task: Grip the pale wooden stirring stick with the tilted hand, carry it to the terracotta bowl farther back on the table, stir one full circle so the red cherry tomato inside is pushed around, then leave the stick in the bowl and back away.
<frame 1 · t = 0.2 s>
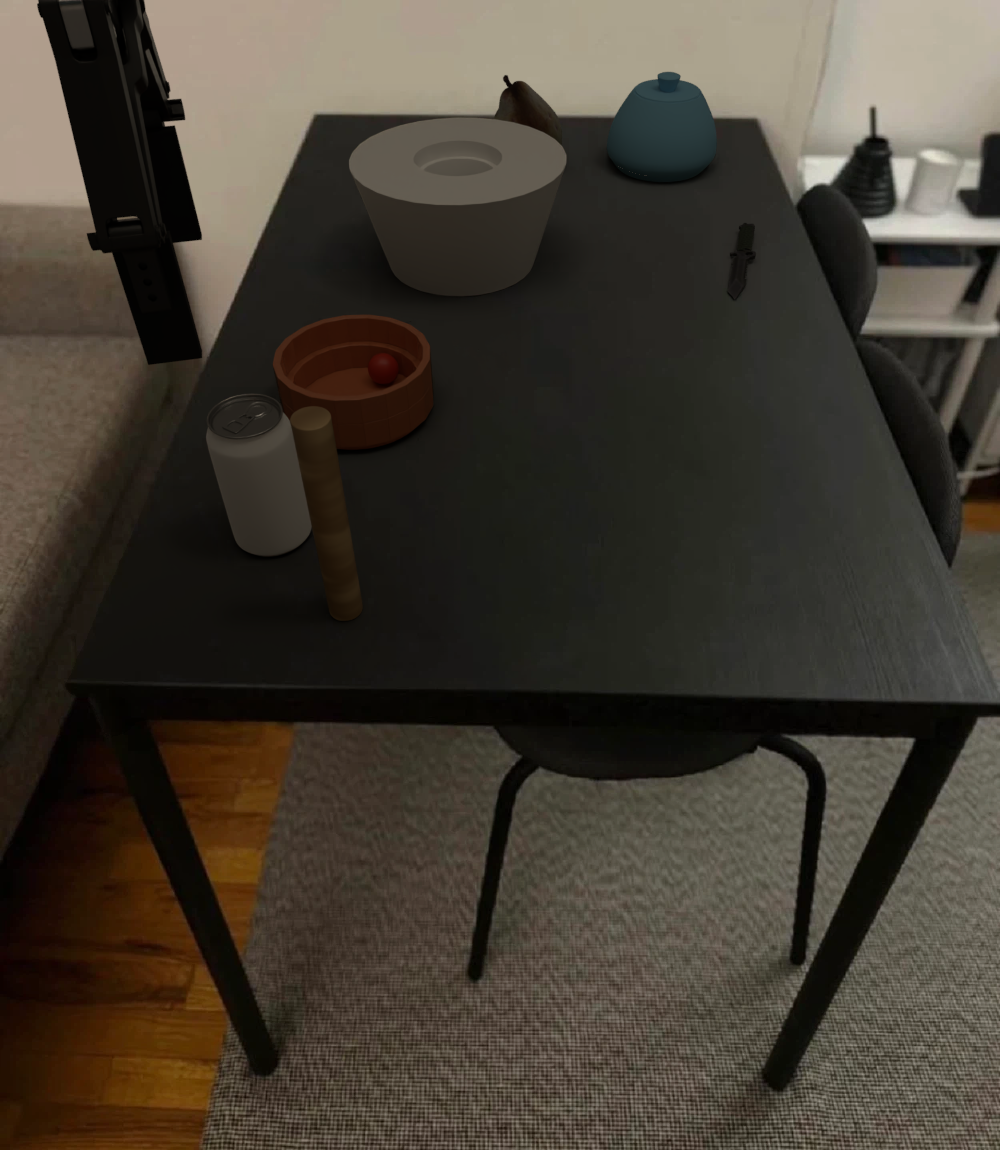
hand: (177, 294, 53), 27 cm above the table, tool pointing down, fingers open, 13 cm apart
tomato: (383, 368, 91), point 2 cm above the table, touching stir bowl
knife: (741, 264, 110), on the table
stir bowl: (359, 408, 91), on the table
bowl: (462, 261, 112), on the table
stick: (346, 608, 72), on the table
can: (274, 534, 79), on the table
sugar bowl: (659, 165, 131), on the table
fruit: (526, 169, 131), on the table
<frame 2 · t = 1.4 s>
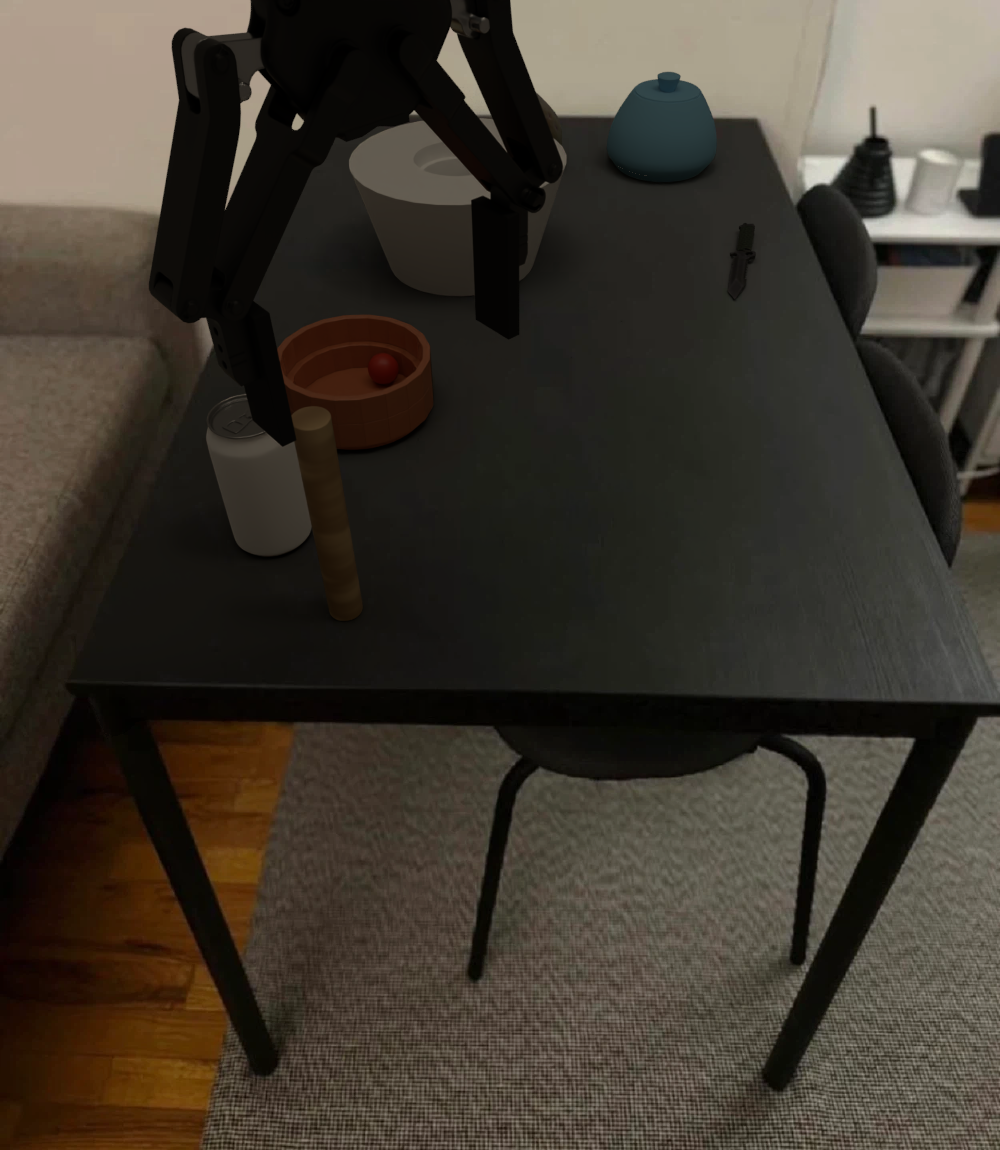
hand: (393, 376, 47), 27 cm above the table, tool pointing down, fingers open, 13 cm apart
nothing on the table moved.
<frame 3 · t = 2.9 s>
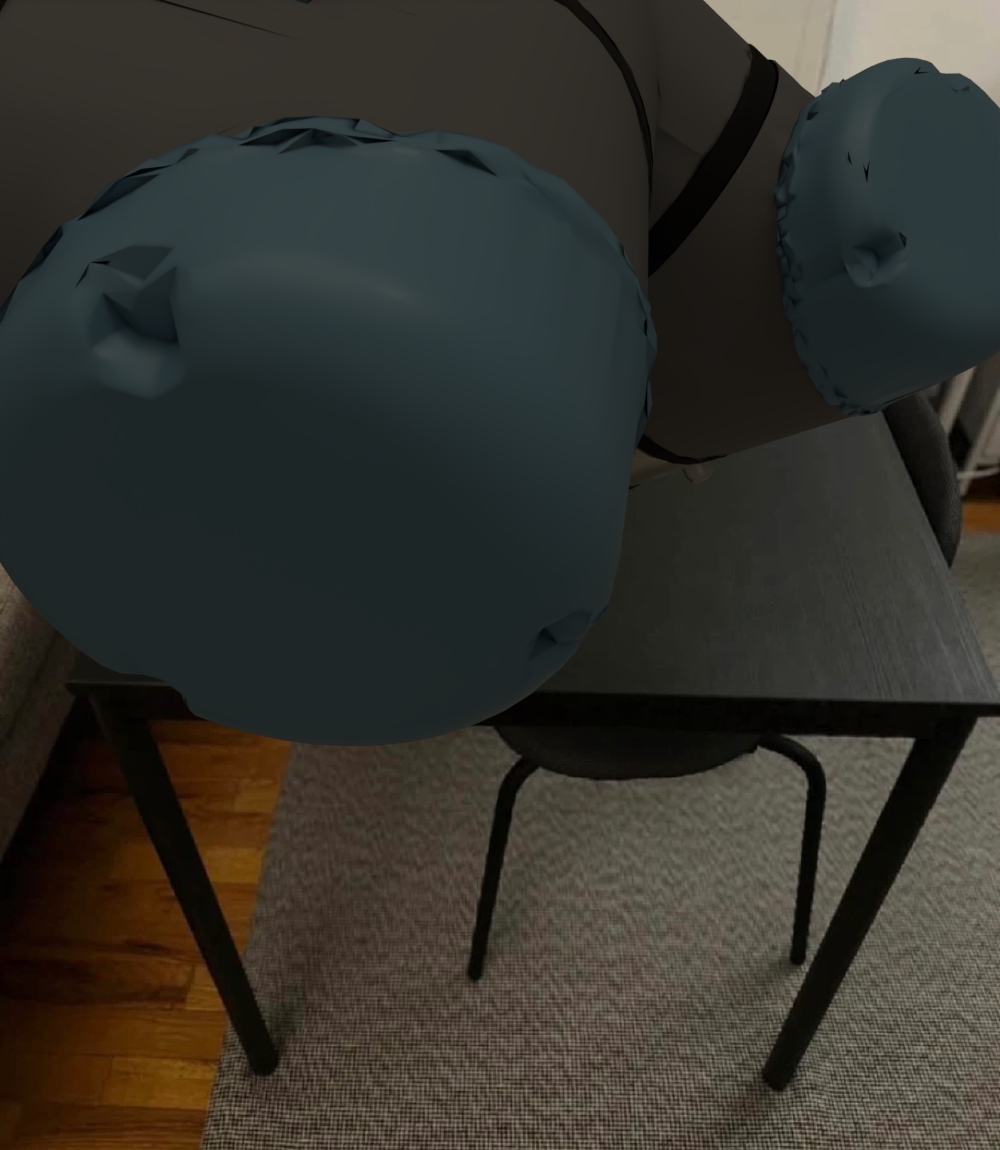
hand: (404, 496, 54), 18 cm above the table, tool tilted 45°, fingers open, 13 cm apart
nothing on the table moved.
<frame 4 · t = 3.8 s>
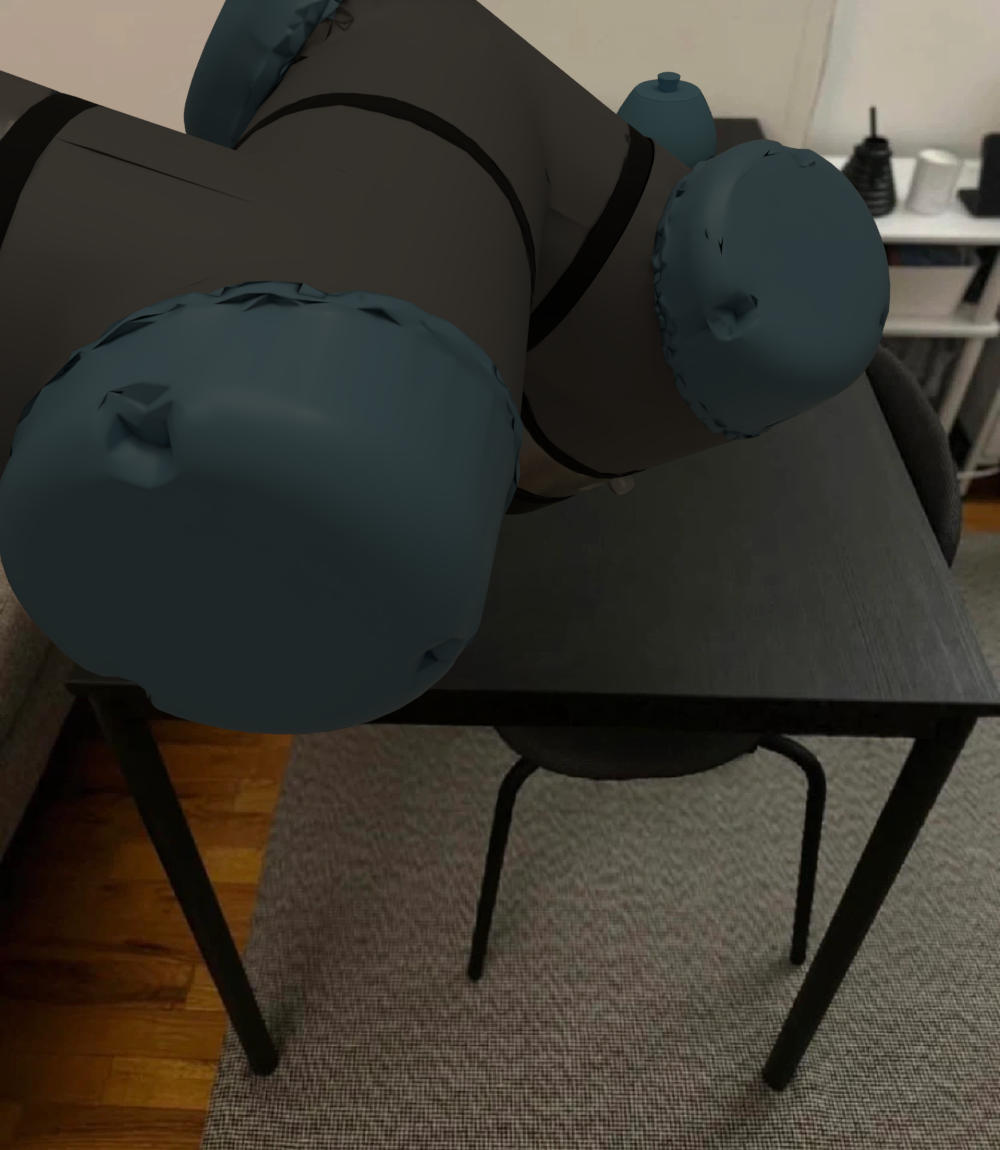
hand: (375, 502, 58), 15 cm above the table, tool tilted 45°, fingers open, 13 cm apart
nothing on the table moved.
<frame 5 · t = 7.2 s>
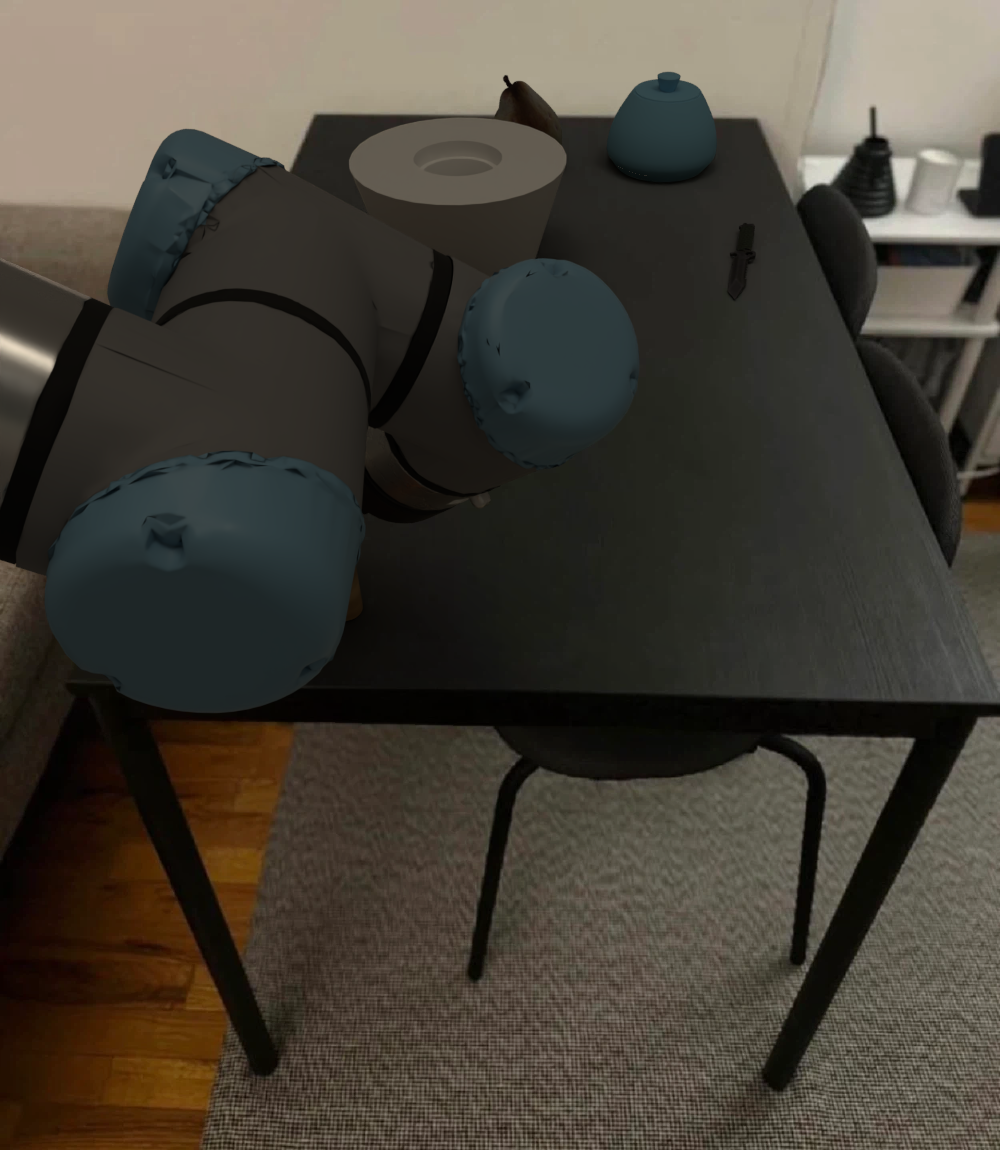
hand: (305, 516, 69), 7 cm above the table, tool tilted 45°, fingers closed on stick, 2 cm apart
stick: (346, 608, 72), on the table, touching gripper
everything else where it was.
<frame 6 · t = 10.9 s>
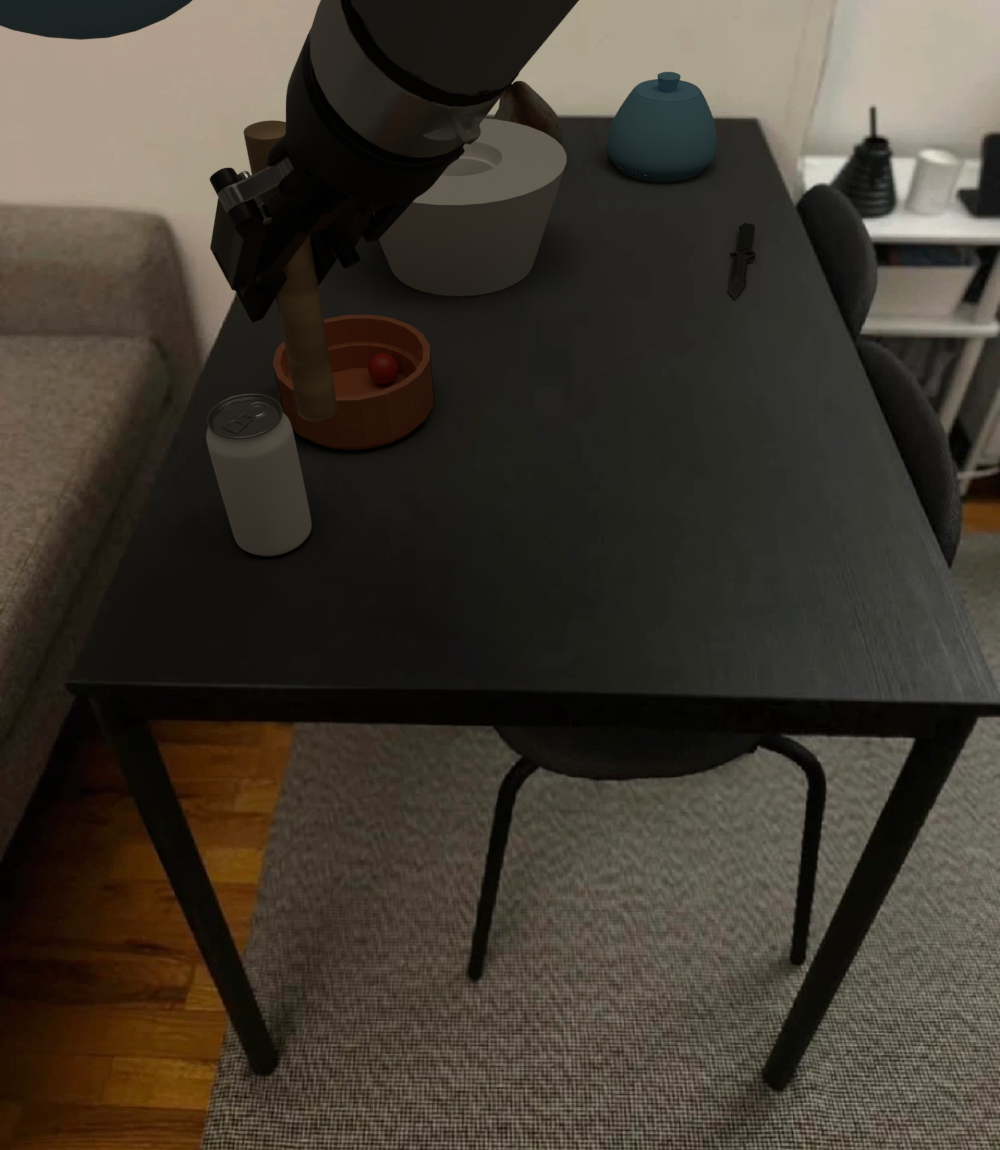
hand: (270, 292, 59), 24 cm above the table, tool tilted 45°, fingers closed on stick, 2 cm apart
stick: (317, 410, 62), point 17 cm above the table, touching gripper
everything else where it was.
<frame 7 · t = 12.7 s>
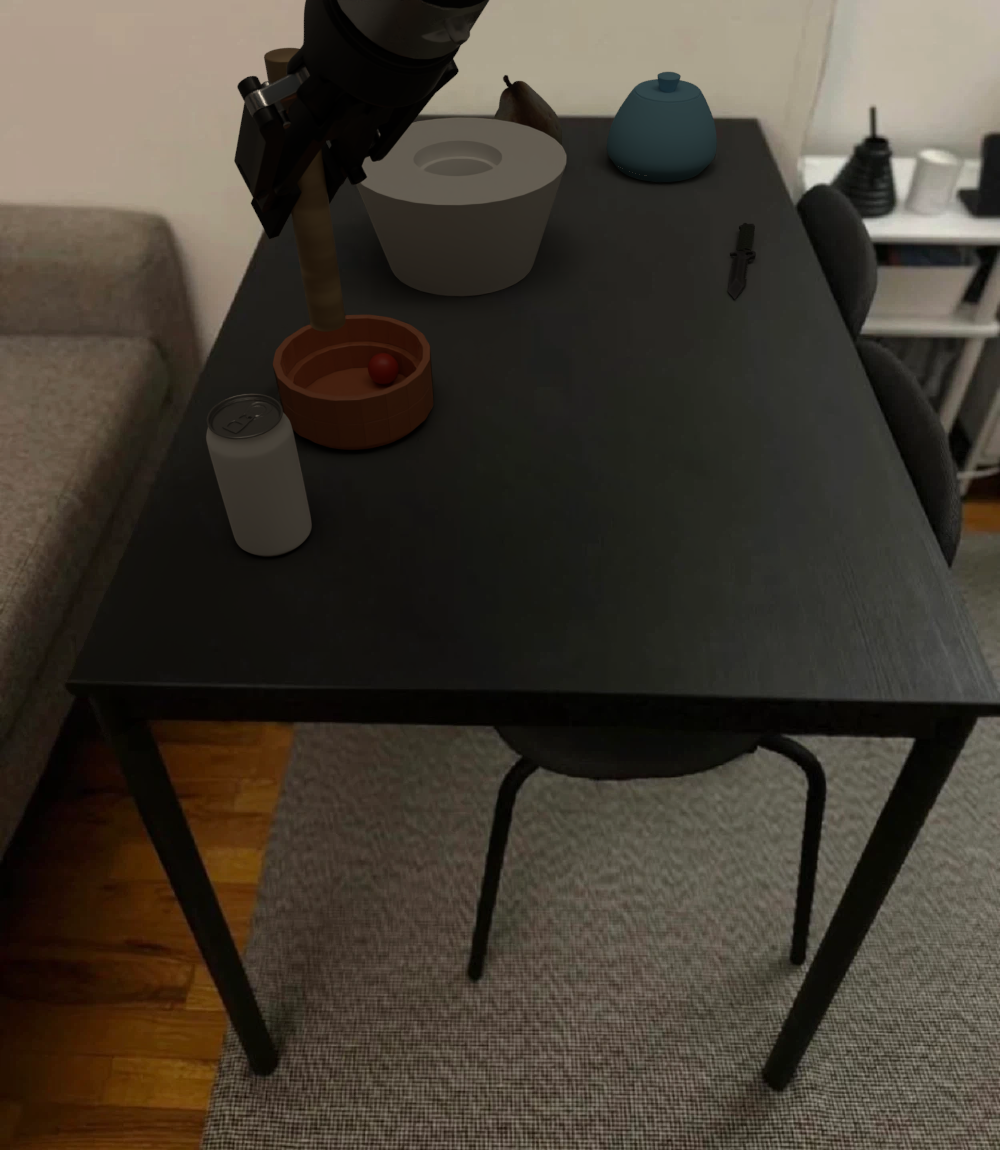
hand: (285, 212, 66), 24 cm above the table, tool tilted 45°, fingers closed on stick, 2 cm apart
stick: (328, 322, 69), point 17 cm above the table, touching gripper
everything else where it was.
when the fingers open (8 cm above the table, at t = 24.4 s): stick stays where it is, resting on stir bowl.
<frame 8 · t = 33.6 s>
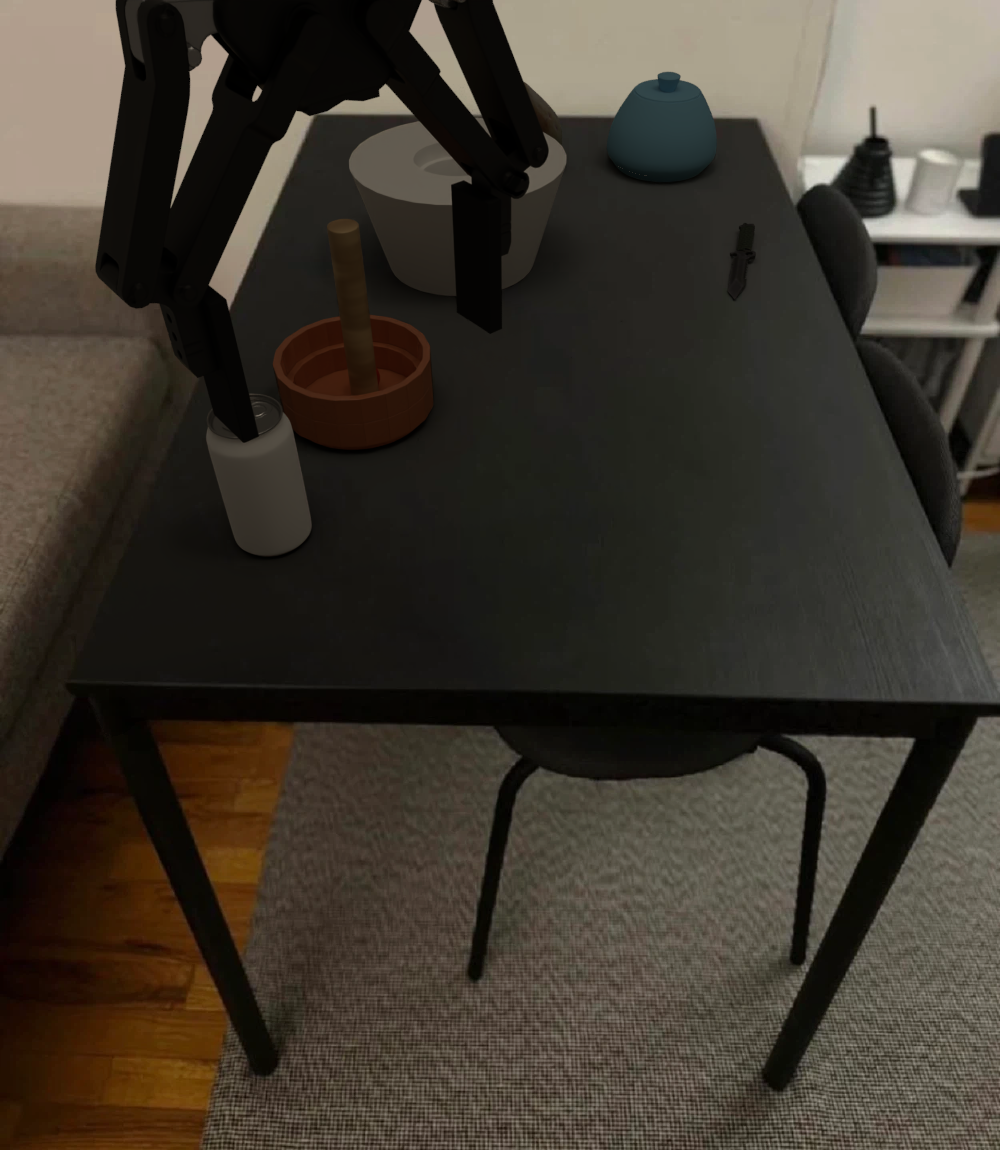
hand: (366, 370, 44), 29 cm above the table, tool pointing down, fingers open, 13 cm apart
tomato: (364, 377, 90), point 2 cm above the table, tilted 88°, touching stir bowl
stick: (366, 407, 89), point 1 cm above the table, touching stir bowl
everything else where it was.
at the end: stick inside the target area in the stir bowl (1.3 cm from its centre), point 0.8 cm above the stir bowl's base; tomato moved 2.3 cm from its start; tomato inside the target area in the stir bowl (1.9 cm from its centre), point 2.3 cm above the stir bowl's base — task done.
